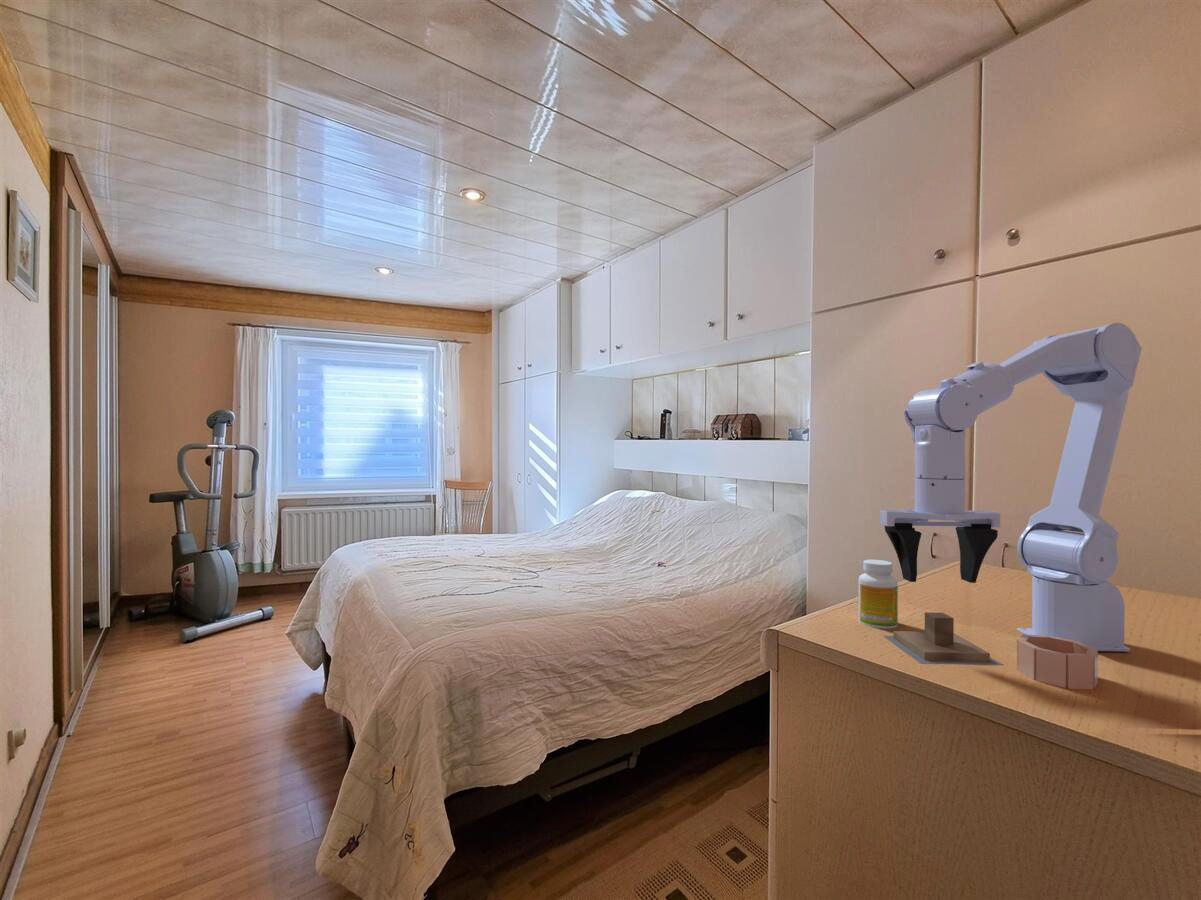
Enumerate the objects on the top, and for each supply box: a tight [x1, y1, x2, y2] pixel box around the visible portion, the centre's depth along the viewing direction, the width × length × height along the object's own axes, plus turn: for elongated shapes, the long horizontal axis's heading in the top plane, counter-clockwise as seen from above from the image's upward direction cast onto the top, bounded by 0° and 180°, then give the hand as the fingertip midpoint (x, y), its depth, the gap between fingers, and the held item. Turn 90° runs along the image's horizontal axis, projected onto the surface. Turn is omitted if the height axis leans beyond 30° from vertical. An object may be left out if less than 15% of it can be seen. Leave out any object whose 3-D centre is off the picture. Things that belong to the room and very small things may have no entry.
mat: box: [883, 635, 1004, 666], centre depth 73 cm, size 10×10×1 cm
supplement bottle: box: [857, 559, 899, 629], centre depth 84 cm, size 5×5×10 cm
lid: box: [892, 612, 991, 661], centre depth 73 cm, size 8×8×4 cm
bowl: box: [1016, 634, 1099, 690], centre depth 64 cm, size 7×7×4 cm
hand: (938, 580), depth 73 cm, fingers open, 7 cm apart
